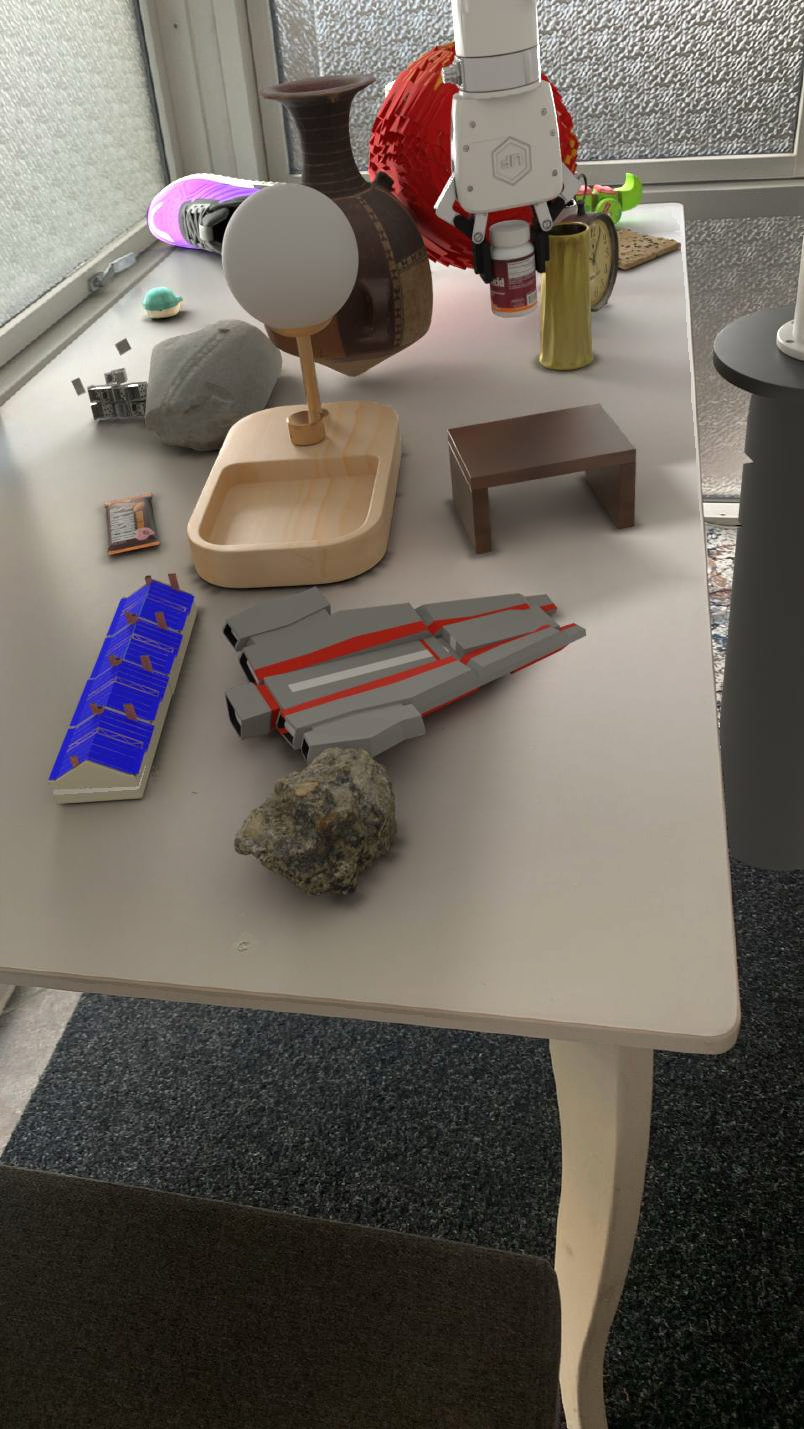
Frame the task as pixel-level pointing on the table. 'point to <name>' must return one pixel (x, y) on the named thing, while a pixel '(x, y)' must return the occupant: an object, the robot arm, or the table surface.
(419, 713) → the toy spaceship
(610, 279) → the alarm clock
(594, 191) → the toy crocodile
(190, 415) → the stone
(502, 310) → the pill bottle
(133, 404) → the house of cards
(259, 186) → the running shoe
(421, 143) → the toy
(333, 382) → the table surface
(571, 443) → the shelf
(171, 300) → the whale figurine
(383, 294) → the vase
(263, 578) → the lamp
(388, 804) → the rock
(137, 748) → the building
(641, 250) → the cookie
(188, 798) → the table surface
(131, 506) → the chocolate bar
